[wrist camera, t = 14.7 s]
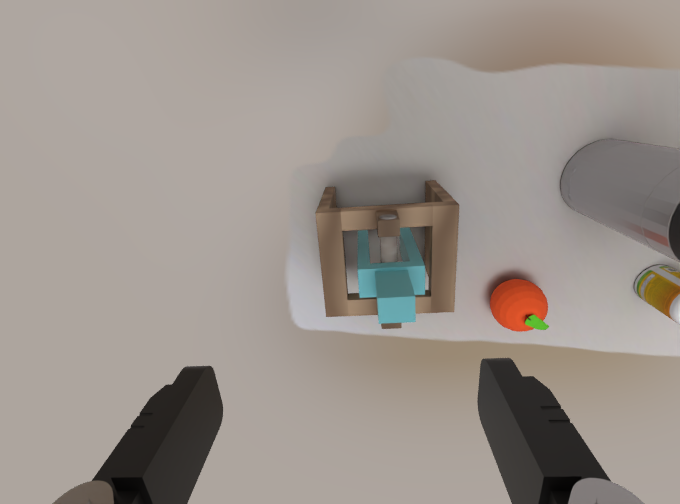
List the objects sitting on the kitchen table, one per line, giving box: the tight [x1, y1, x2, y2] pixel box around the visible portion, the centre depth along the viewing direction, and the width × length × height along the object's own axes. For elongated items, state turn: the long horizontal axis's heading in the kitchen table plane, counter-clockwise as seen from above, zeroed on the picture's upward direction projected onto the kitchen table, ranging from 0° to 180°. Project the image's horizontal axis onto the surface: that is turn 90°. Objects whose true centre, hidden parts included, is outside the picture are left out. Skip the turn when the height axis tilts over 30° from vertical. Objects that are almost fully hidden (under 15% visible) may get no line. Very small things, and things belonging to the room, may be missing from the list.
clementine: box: [490, 279, 549, 331], centre depth 48 cm, size 8×7×7 cm
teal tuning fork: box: [358, 227, 425, 324], centre depth 37 cm, size 6×3×16 cm, turn 95°
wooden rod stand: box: [316, 180, 459, 329], centre depth 42 cm, size 14×12×15 cm
